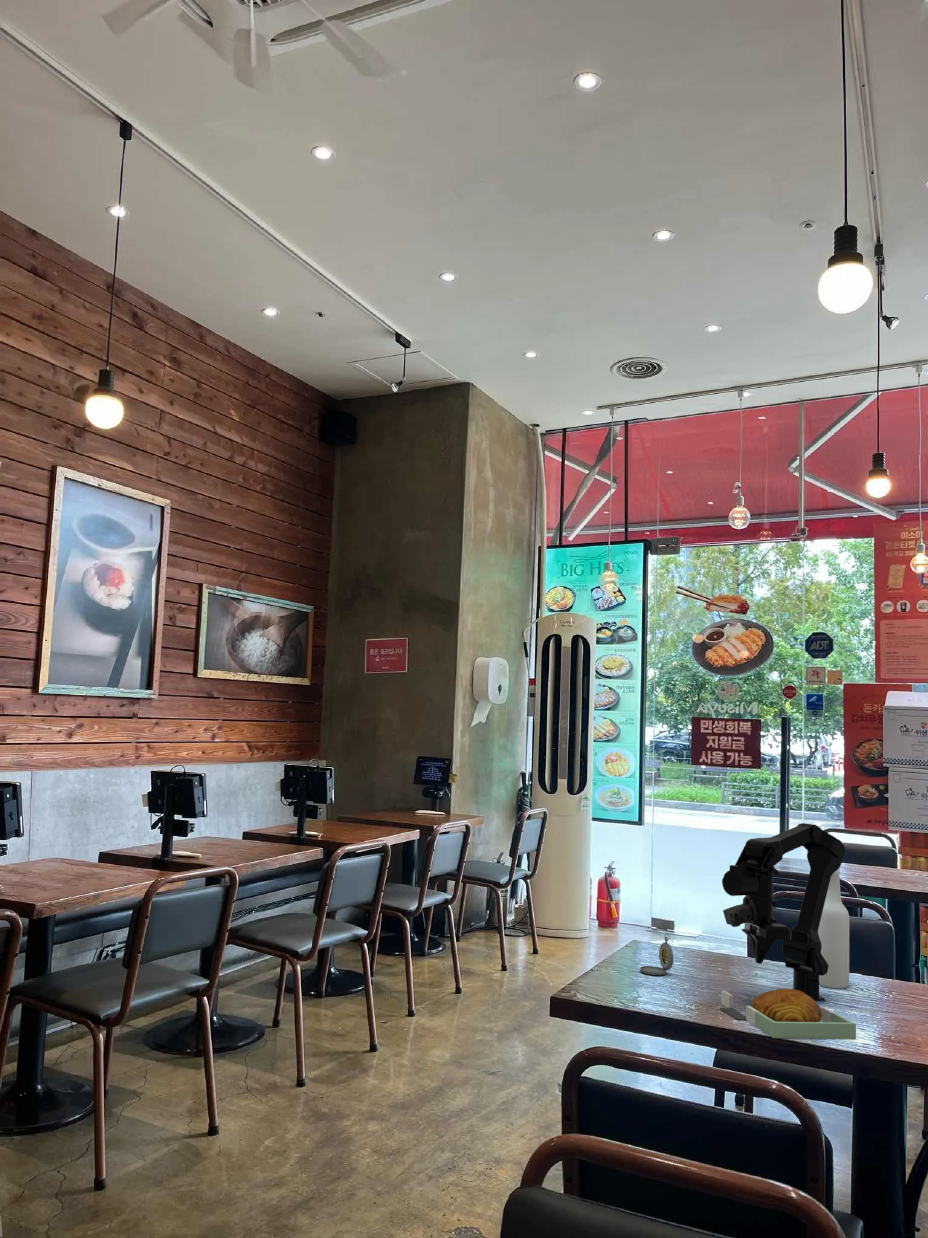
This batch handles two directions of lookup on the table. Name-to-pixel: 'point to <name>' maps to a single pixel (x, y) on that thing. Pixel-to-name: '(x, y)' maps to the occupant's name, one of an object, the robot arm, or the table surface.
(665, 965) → the pocket watch
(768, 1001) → the croissant
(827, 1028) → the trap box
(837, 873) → the white bottle
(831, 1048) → the table surface
